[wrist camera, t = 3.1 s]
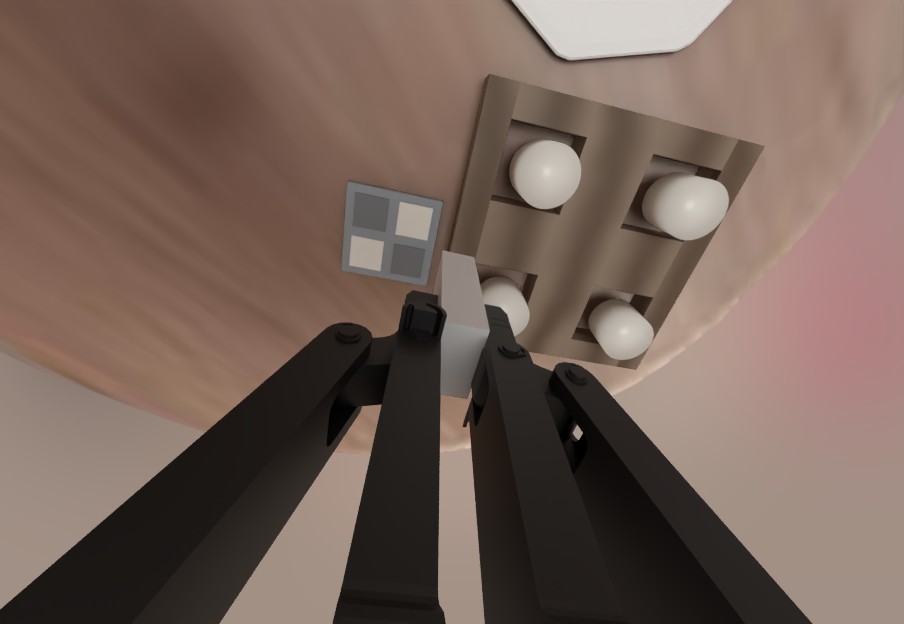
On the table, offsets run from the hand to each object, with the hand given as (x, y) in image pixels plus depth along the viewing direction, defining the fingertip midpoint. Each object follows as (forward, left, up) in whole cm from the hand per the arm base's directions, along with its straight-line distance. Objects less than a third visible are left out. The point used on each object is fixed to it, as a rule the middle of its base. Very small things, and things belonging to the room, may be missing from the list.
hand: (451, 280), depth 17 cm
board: (+13, -2, -20) cm, 24 cm away
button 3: (+19, -8, -17) cm, 27 cm away
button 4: (+19, +4, -17) cm, 26 cm away
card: (-5, -5, -20) cm, 21 cm away
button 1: (+7, -8, -17) cm, 20 cm away
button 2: (+7, +4, -17) cm, 19 cm away
